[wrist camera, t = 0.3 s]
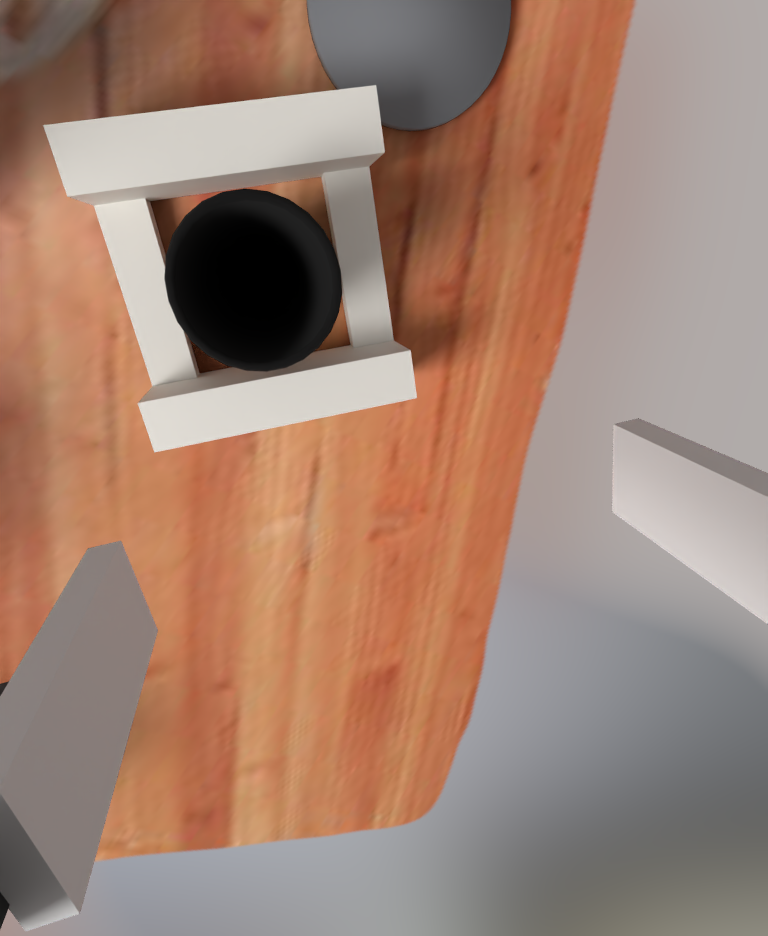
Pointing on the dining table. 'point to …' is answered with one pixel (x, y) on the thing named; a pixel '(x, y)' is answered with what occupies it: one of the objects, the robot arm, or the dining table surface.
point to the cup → (253, 280)
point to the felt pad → (412, 53)
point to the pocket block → (225, 168)
